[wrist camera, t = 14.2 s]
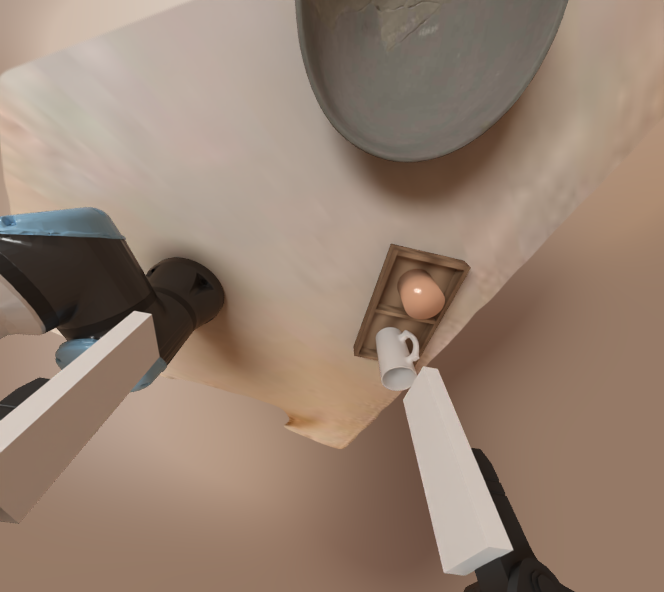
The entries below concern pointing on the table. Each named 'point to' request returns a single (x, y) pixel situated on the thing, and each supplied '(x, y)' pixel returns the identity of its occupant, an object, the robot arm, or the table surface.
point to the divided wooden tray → (389, 305)
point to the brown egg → (420, 294)
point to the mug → (396, 358)
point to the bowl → (421, 67)
